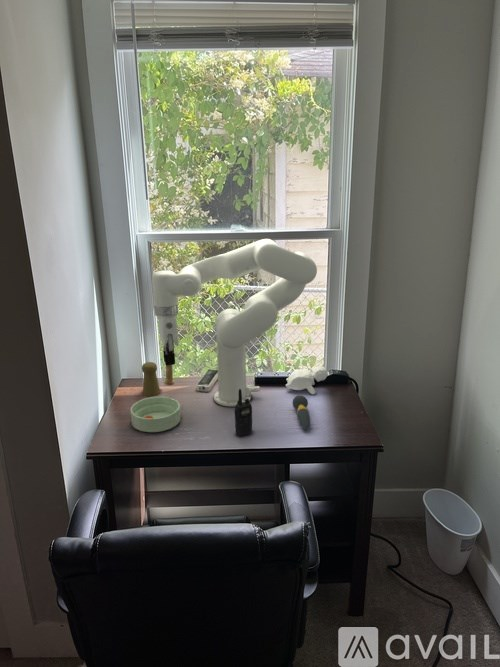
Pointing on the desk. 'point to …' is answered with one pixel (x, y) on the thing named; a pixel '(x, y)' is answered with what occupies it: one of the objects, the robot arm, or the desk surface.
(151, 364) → the cork
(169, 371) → the muddler
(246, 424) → the two-way radio
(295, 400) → the dark grey microphone
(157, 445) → the desk surface
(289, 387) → the white animal figurine
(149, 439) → the desk surface
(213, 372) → the multiport hub
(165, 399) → the bowl
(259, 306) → the robot arm
